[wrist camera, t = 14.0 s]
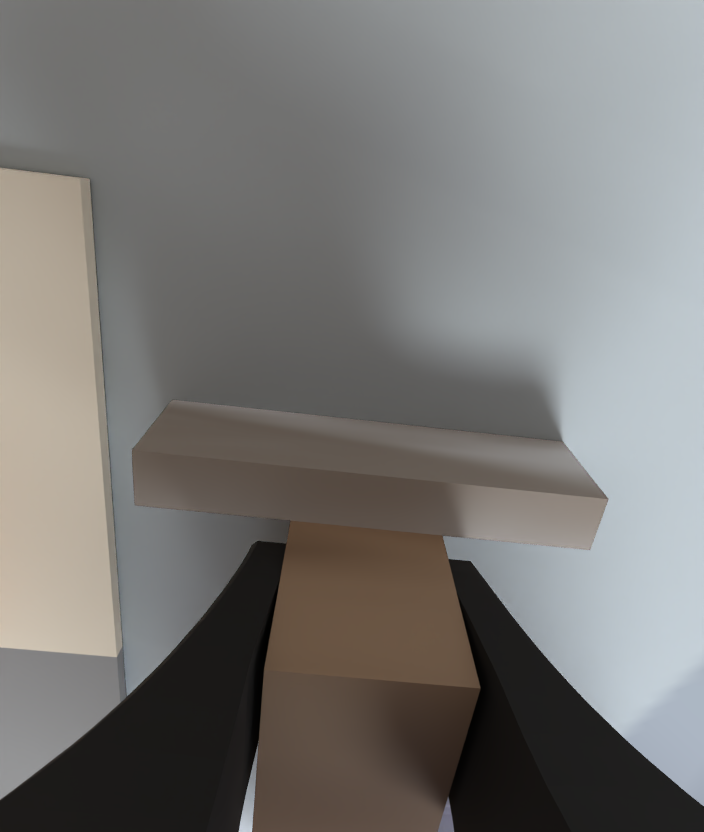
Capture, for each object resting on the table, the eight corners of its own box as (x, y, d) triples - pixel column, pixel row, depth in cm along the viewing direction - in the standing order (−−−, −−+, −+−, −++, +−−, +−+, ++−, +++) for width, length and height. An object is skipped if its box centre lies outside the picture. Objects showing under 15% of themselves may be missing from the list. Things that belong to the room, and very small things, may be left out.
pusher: (493, 664, 16) (570, 930, 10) (176, 636, 15) (77, 898, 10) (562, 440, 13) (721, 643, 7) (172, 399, 12) (27, 580, 7)
